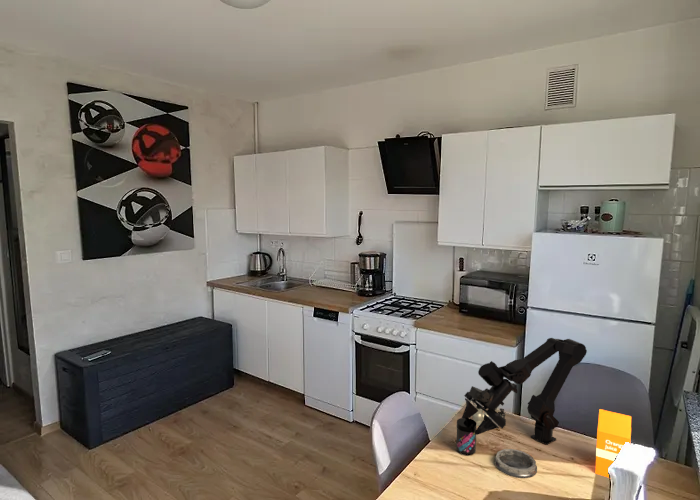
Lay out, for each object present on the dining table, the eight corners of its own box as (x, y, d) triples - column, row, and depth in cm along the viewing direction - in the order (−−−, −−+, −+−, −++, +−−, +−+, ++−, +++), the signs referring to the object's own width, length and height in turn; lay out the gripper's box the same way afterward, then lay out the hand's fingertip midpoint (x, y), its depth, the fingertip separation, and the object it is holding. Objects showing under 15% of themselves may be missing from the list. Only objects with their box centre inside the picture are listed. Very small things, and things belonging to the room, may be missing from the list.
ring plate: (511, 450, 148) (511, 444, 148) (545, 469, 137) (545, 462, 137) (486, 462, 141) (486, 455, 141) (520, 483, 130) (520, 476, 130)
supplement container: (452, 450, 148) (452, 422, 147) (462, 443, 153) (463, 415, 152) (469, 458, 143) (469, 429, 142) (479, 451, 148) (480, 422, 147)
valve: (473, 427, 164) (505, 429, 163) (474, 411, 163) (506, 412, 162) (470, 419, 171) (501, 421, 169) (471, 404, 170) (501, 405, 169)
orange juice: (597, 462, 141) (600, 404, 139) (629, 471, 136) (632, 411, 134) (594, 473, 135) (597, 413, 133) (627, 484, 130) (631, 421, 128)
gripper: (469, 370, 156) (441, 401, 155) (499, 390, 138) (468, 426, 137) (487, 388, 159) (460, 419, 157) (519, 410, 141) (488, 446, 139)
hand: (468, 427), depth 148 cm, fingers open, 9 cm apart
